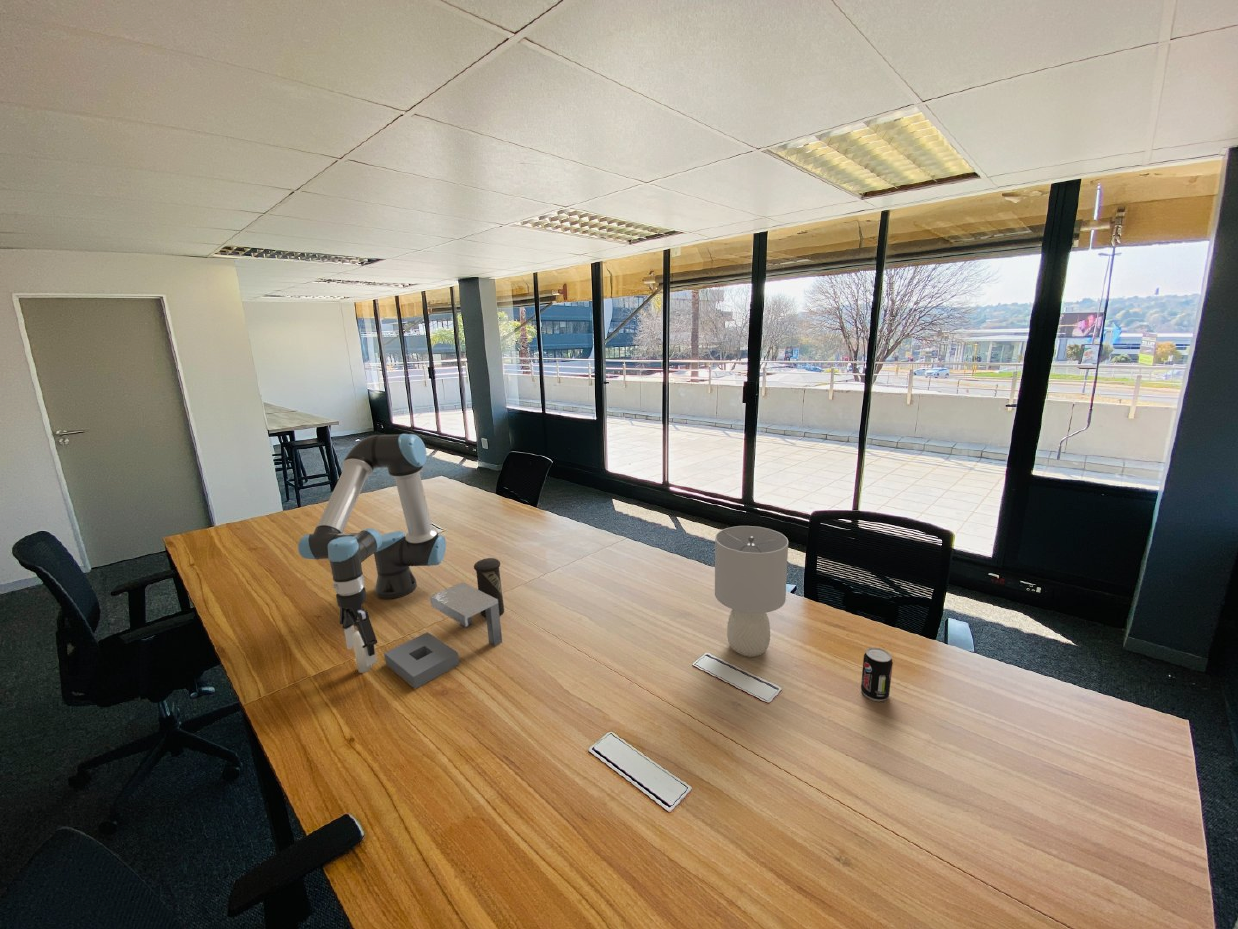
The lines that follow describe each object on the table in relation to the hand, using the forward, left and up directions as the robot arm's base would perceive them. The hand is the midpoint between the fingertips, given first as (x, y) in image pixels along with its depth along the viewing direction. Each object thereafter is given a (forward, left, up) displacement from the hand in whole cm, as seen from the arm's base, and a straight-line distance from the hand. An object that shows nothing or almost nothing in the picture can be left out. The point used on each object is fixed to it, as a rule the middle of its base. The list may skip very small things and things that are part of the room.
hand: (362, 655), depth 147 cm
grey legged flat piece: (+12, +28, -5) cm, 31 cm away
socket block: (+12, +12, -5) cm, 18 cm away
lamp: (+86, +78, -5) cm, 116 cm away
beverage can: (+121, +80, -5) cm, 145 cm away
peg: (0, 0, -5) cm, 5 cm away
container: (+4, +43, -5) cm, 44 cm away
